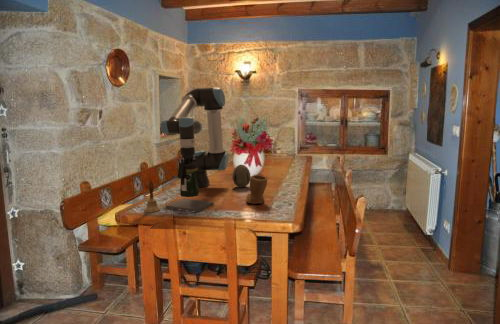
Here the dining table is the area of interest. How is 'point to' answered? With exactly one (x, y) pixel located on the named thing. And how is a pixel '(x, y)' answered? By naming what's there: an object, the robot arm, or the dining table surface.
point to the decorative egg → (241, 176)
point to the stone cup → (257, 189)
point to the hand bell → (151, 200)
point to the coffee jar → (190, 181)
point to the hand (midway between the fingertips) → (189, 188)
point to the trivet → (190, 205)
